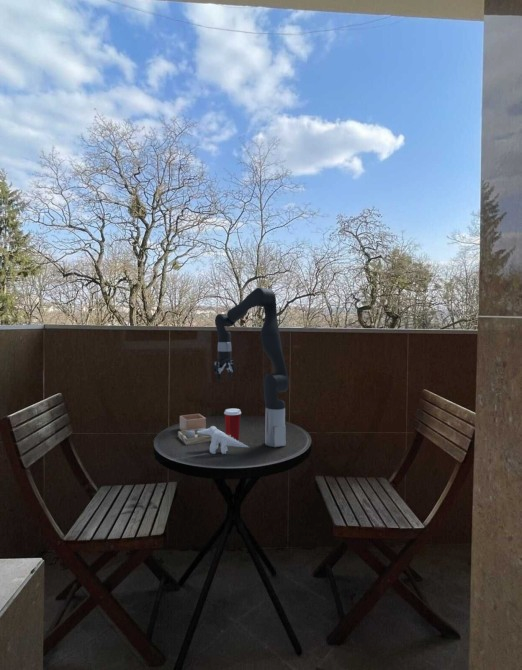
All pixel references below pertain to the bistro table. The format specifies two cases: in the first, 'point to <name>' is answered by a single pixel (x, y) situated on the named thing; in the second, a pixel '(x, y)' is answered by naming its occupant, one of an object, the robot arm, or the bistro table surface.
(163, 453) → the bistro table surface
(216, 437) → the dinosaur statue
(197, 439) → the tray
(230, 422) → the coffee cup
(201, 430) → the stone
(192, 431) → the stone
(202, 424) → the bin
